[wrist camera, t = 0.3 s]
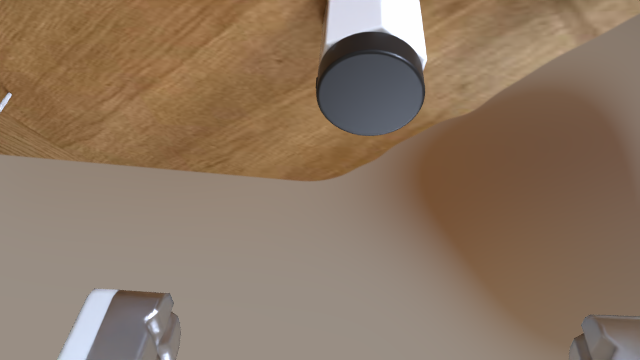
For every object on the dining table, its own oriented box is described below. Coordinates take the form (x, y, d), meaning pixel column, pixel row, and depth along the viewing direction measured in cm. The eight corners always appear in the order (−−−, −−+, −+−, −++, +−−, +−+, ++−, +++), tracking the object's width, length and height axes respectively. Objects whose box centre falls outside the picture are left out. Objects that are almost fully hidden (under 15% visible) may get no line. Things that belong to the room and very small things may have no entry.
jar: (301, 14, 50) (289, 98, 42) (361, -55, 45) (361, 26, 37) (375, 67, 54) (376, 154, 45) (438, 9, 49) (452, 96, 40)
